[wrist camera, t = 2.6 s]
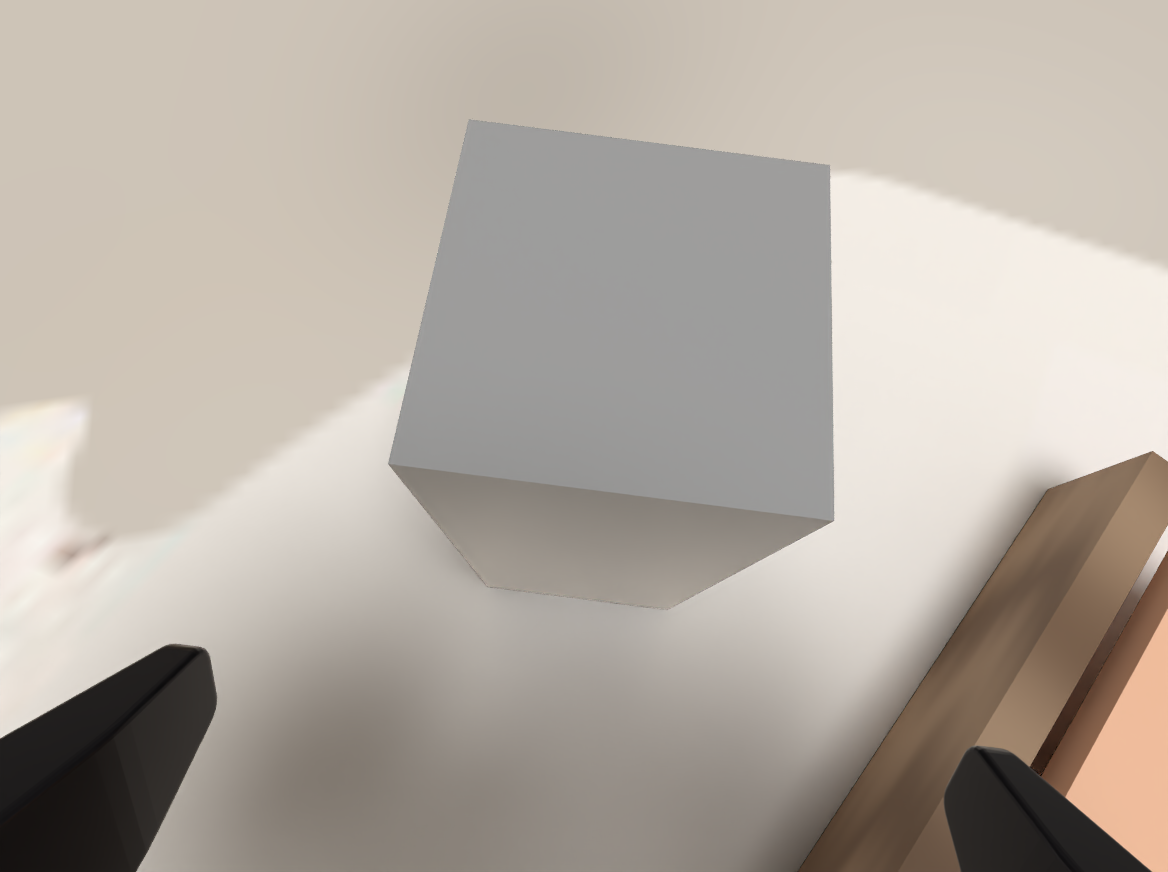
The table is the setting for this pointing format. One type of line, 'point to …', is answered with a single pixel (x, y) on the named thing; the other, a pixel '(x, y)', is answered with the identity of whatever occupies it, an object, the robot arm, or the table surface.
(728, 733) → the table surface
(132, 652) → the table surface
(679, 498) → the stone block
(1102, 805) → the flap
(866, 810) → the flap frame
